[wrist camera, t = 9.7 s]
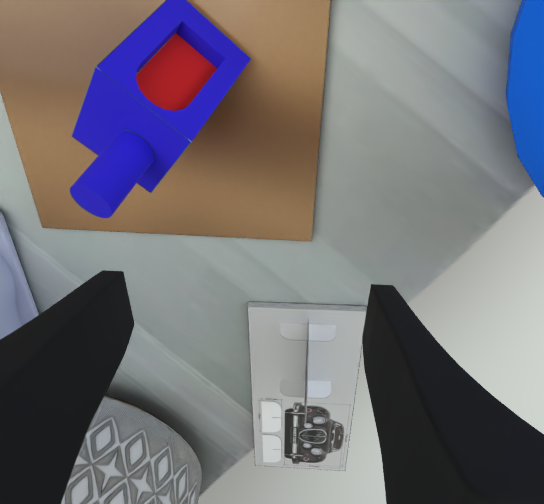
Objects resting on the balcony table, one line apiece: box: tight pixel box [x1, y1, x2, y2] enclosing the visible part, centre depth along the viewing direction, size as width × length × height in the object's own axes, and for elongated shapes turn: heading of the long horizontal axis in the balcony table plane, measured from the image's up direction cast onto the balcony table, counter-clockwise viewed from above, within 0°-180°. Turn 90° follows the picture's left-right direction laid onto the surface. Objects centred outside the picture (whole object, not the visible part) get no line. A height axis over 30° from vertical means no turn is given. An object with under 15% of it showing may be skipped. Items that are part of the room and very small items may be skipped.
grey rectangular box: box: [248, 302, 367, 471], centre depth 27 cm, size 15×7×4 cm, turn 1°
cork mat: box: [0, 0, 331, 241], centre depth 19 cm, size 14×14×1 cm
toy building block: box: [70, 0, 251, 218], centre depth 16 cm, size 4×4×8 cm
